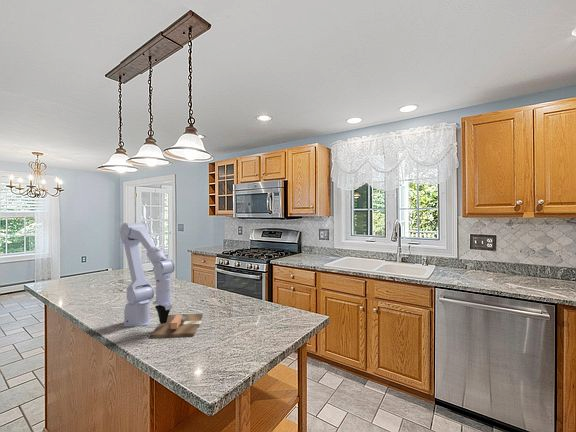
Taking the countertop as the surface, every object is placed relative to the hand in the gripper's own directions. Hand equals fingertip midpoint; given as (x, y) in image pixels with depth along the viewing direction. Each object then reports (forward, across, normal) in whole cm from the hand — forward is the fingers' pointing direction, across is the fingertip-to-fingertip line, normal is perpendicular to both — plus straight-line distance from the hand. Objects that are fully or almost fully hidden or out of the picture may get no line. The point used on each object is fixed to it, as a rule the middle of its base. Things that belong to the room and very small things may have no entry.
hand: (163, 322), depth 116 cm
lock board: (+3, 0, +6) cm, 7 cm away
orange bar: (+1, +3, +5) cm, 6 cm away
